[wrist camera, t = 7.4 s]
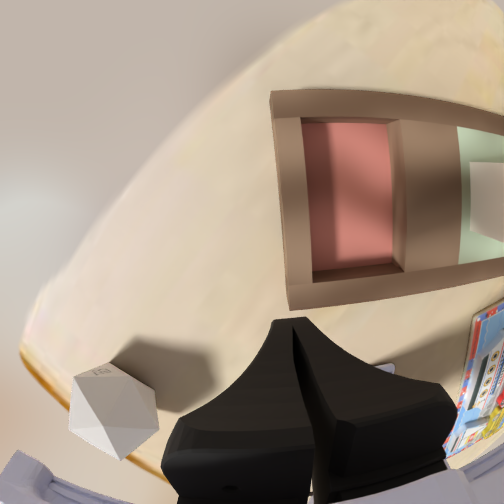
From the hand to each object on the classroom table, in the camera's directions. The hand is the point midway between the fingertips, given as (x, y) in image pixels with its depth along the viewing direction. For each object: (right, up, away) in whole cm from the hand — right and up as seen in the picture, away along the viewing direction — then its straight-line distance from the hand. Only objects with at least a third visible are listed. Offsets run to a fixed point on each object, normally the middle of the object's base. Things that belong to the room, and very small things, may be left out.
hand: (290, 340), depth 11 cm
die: (-14, -9, +13) cm, 21 cm away
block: (+17, +8, +5) cm, 19 cm away
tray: (+14, +8, +7) cm, 18 cm away
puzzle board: (+35, -14, +13) cm, 40 cm away
